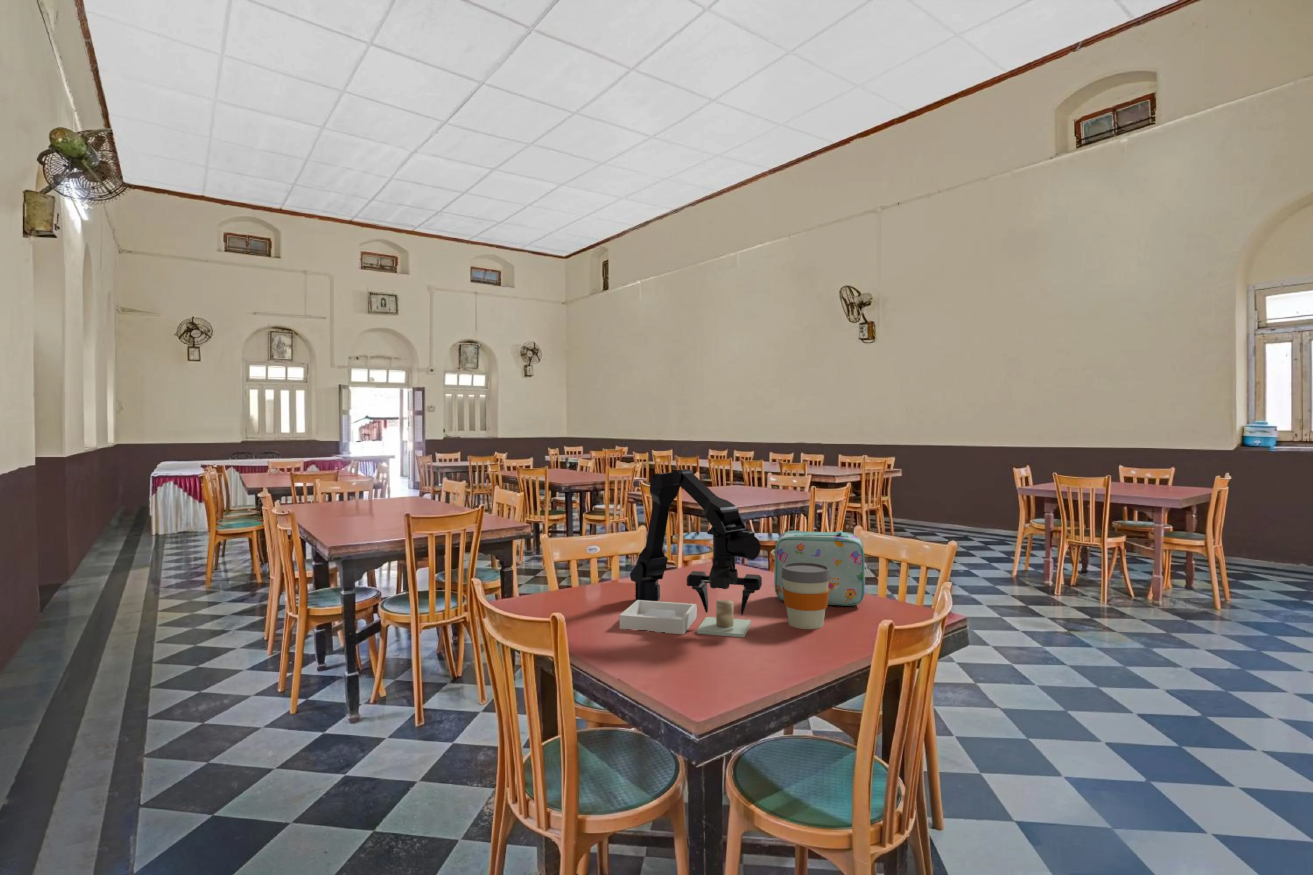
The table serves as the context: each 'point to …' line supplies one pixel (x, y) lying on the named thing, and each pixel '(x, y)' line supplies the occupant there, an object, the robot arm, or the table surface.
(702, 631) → the green pad
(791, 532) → the lunch box
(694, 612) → the tray
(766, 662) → the table surface
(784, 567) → the reusable coffee cup
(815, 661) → the table surface
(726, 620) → the birch cylinder
